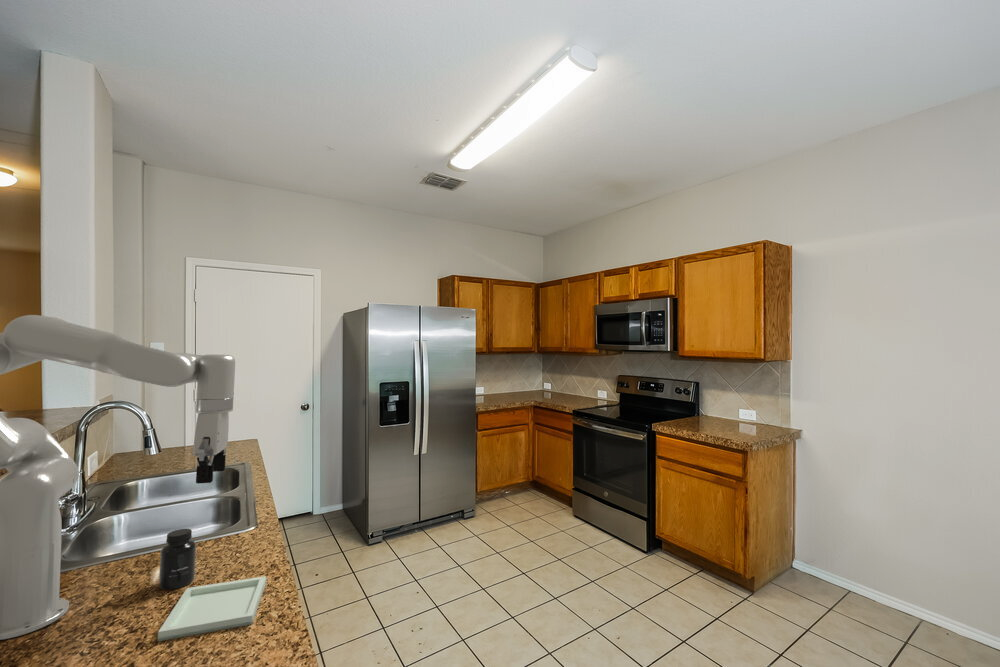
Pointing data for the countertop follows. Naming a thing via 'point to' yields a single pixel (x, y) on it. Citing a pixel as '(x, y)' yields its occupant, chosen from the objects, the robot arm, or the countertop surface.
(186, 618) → the sage tray
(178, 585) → the supplement bottle
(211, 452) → the robot arm
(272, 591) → the countertop surface
